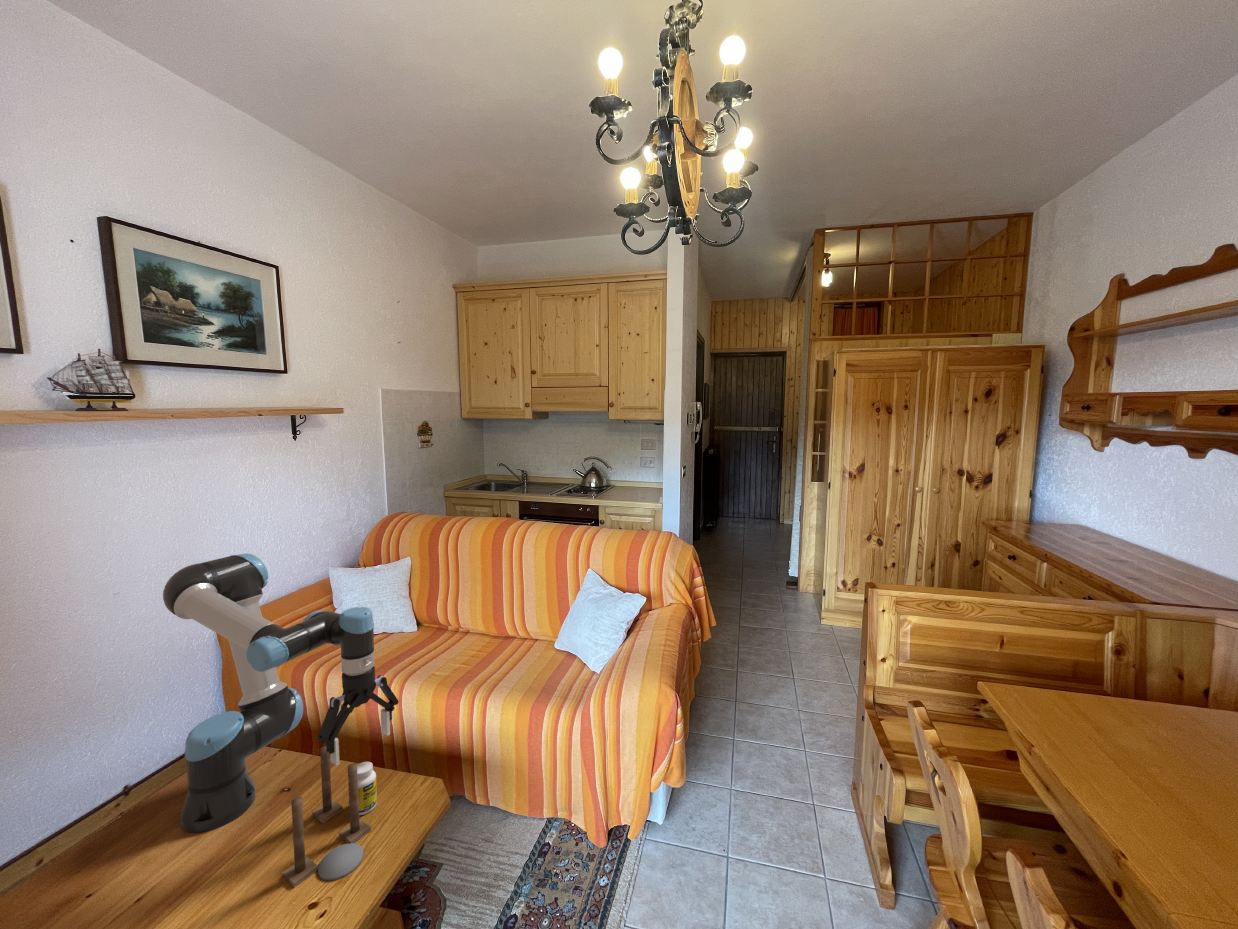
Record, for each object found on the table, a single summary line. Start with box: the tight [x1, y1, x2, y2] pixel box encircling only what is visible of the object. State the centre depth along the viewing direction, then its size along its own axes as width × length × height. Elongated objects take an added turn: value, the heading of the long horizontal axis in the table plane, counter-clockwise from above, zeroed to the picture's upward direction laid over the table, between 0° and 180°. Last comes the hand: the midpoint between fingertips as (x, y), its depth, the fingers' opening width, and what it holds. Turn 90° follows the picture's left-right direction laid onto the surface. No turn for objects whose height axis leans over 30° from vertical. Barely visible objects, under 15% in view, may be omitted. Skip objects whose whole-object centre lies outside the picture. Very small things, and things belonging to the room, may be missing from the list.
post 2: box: [311, 745, 344, 824], centre depth 125 cm, size 5×5×18 cm
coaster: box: [317, 842, 364, 881], centre depth 111 cm, size 9×9×1 cm
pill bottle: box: [357, 761, 378, 816], centre depth 127 cm, size 6×6×11 cm
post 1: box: [282, 795, 319, 889], centre depth 108 cm, size 5×5×18 cm
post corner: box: [338, 763, 372, 844], centre depth 119 cm, size 5×5×18 cm
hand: (361, 747), depth 126 cm, fingers open, 13 cm apart
